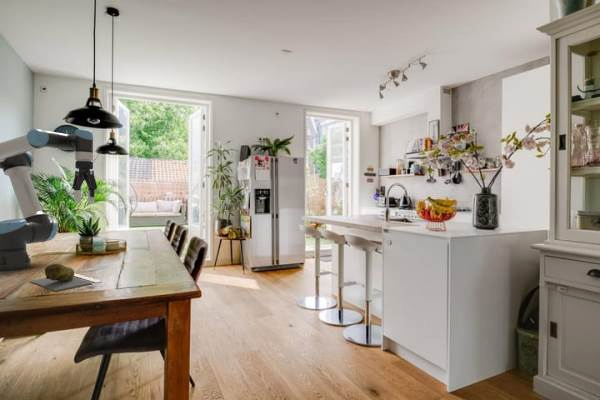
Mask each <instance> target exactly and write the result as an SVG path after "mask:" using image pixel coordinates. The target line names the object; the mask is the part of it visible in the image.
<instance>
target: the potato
mask: <svg viewBox="0 0 600 400" xmlns="http://www.w3.org/2000/svg"><path fill="white" fill-rule="evenodd" d="M74 273H75V270H74V269H73V268H71V267H68V266H65V265H64V264H61V263H52V264H49V265H48V266H46V267H45V269H44V275H45V278H47V279H51V280H57V281H68V280H71V279H72V278H73V277H74ZM74 278H75V277H74Z"/></svg>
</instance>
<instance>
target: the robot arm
mask: <svg viewBox="0 0 600 400" xmlns="http://www.w3.org/2000/svg"><path fill="white" fill-rule="evenodd" d="M42 148H52V149H53V148H54V149H59V150H62V151H63V150H64V151H68V150H69V151H71V150H72V151H73V150H75V152H74V155H75V156H74V157H75V158H74V159H75V169H77V170H75V171H74V178H73V182H72V187H71V188H72V189H73V190H74V204H81V203H82V185H83V184H84V181H85V184H86V185H87V204H88V205H89V204H90V205H94V204H95V199H96V196H95V194H96V193H95V191H96V190H97V189H98V186H97V181H96V178H95V177H96V176H95V171H94V170H93V169H94V162H93V161H94V157H95V155H94V133H93V131H92V130H89V129H82V128H81V129H79V128H78V129H76V130H75V131H74V134H68V133H67V134H66V133H60V132H55V131H50V130H45V129H40V128H39V129H37V128H32V129H30V130H29V131H28V132H27V134H24V135H22V136H19V137H15V138H12V139H9V140H6V141H2V142H0V169H1V170H2V171H3V174H4V175H5V176H7V177H9V180H10V183H11V186H12V189H13V191H14V192H13V193H14V195H15V198H16V200H17V203H18V206H19V209H20V211H21V214H22V218H14V219H13V218H12V219H6V220H2V221H0V271H1V272H3V271H13V270H15V271H16V270H21V269H26V268H29V267H31V266H32V260H31V257H30V256H29V253H28V250H27V245H29V244H31V245H32V244H37V243H45V242H48V241H52V240H53V239H54V238H55V237H56V235H57V233H58V224H57V222H56V221H55V220H54V219H51V218H49V215H48V214H47V213H45V212H43V208H42V205H41V202H40V200H39V198H38V194H37V192H36V190H35V187H34V183H33V180H32V178H31V176H30V172H31V171H32V168H33V166H34V158H33V155H32V153H31V152H32V151H36V150H40V149H42Z"/></svg>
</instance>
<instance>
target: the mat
mask: <svg viewBox="0 0 600 400" xmlns="http://www.w3.org/2000/svg"><path fill="white" fill-rule="evenodd" d="M29 282H30V283H31V282H32V283H31V284H35V285H36V286H40V287H42V288H45V289H48V290H51V291H53V292H60V291H65V290H69V289H75V288H80V287H84V286H89V285H92V284H93V282H91V281H87V280H84V279H81V278H78V277H73V278H72V279H71V280H68V281H57V280H51V279H47V278H46V277H43V278H37V279H32V280H29Z"/></svg>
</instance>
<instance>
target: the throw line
mask: <svg viewBox="0 0 600 400" xmlns="http://www.w3.org/2000/svg"><path fill="white" fill-rule="evenodd" d="M74 278H77V279H81V280H84V281H87V282H90V283H95V284H98V283H102V282H103V280H99V279H96V278H92V277H90V276H86V275H83V274H79V273H76V272H74Z"/></svg>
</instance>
